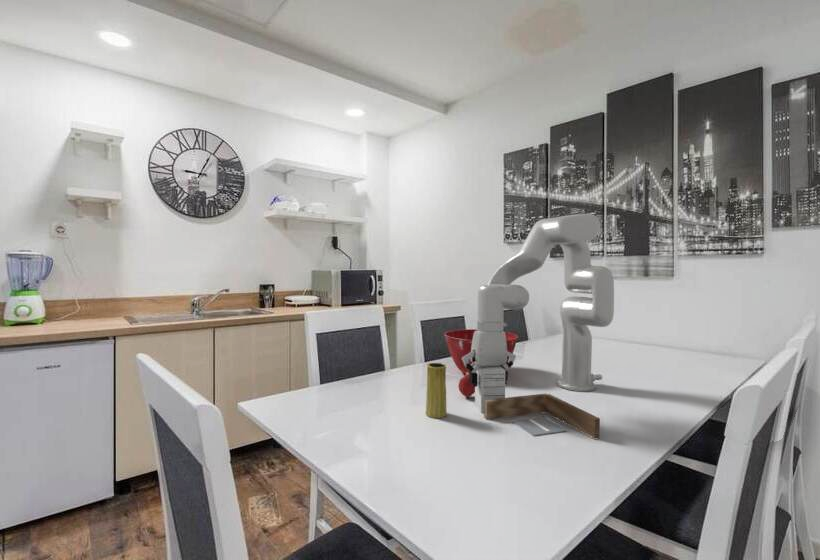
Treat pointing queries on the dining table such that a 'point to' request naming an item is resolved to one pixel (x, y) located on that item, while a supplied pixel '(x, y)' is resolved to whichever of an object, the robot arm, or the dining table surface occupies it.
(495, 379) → the supplement box
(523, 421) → the pad
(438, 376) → the vase
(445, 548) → the dining table surface
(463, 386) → the red oval fruit
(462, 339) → the mixing bowl
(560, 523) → the dining table surface
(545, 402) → the corner arena
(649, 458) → the dining table surface
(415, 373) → the dining table surface
